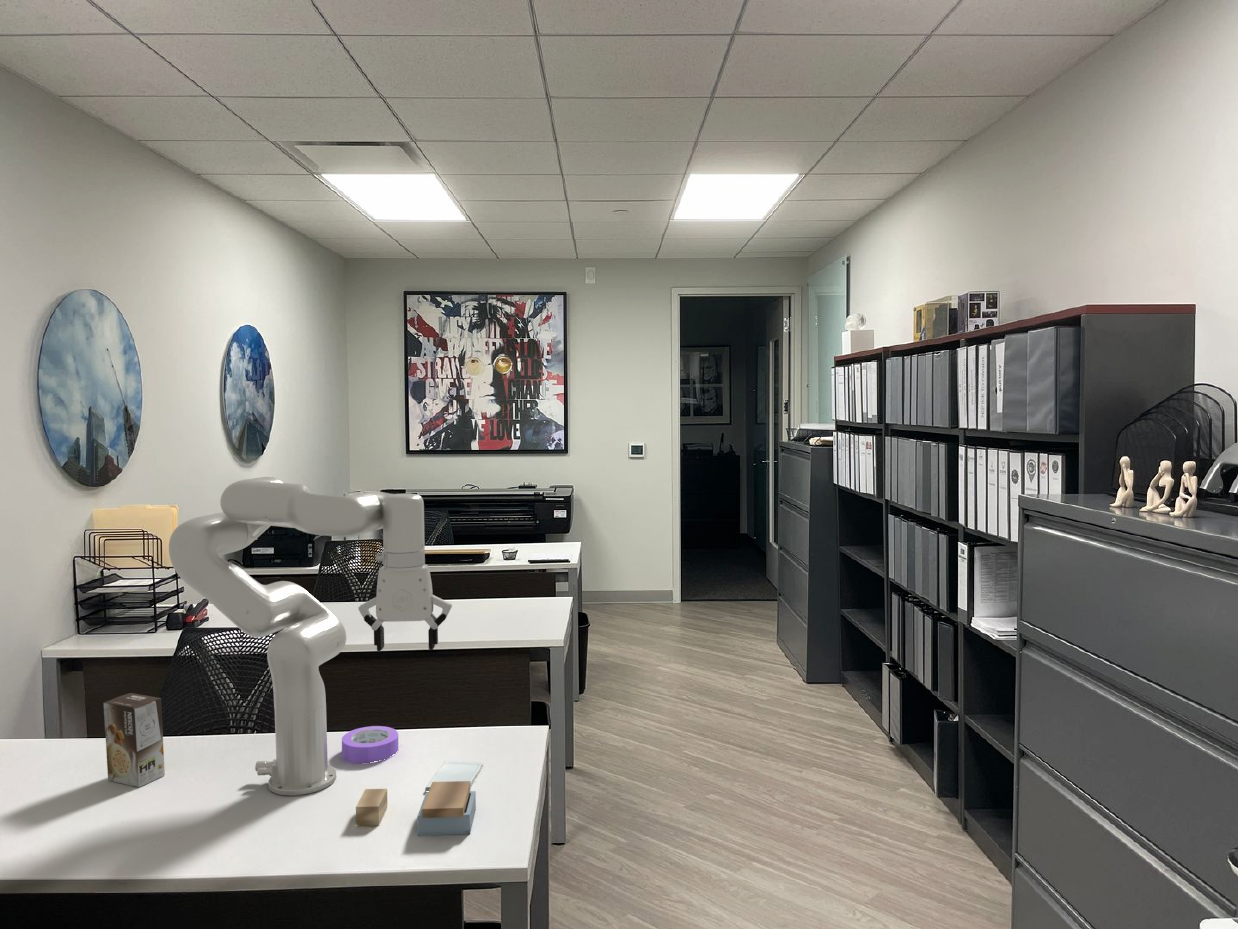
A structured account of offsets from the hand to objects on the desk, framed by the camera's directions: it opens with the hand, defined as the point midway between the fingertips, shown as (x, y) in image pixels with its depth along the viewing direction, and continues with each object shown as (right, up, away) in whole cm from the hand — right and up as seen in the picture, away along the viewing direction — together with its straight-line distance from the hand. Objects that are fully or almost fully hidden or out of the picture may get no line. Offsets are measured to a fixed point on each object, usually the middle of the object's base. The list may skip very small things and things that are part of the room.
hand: (406, 648), depth 163 cm
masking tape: (-13, -27, +21) cm, 37 cm away
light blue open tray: (+10, -29, -9) cm, 32 cm away
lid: (+10, -26, -10) cm, 29 cm away
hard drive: (+8, -29, +8) cm, 31 cm away
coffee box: (-56, -28, +9) cm, 64 cm away
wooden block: (-4, -29, -7) cm, 30 cm away
